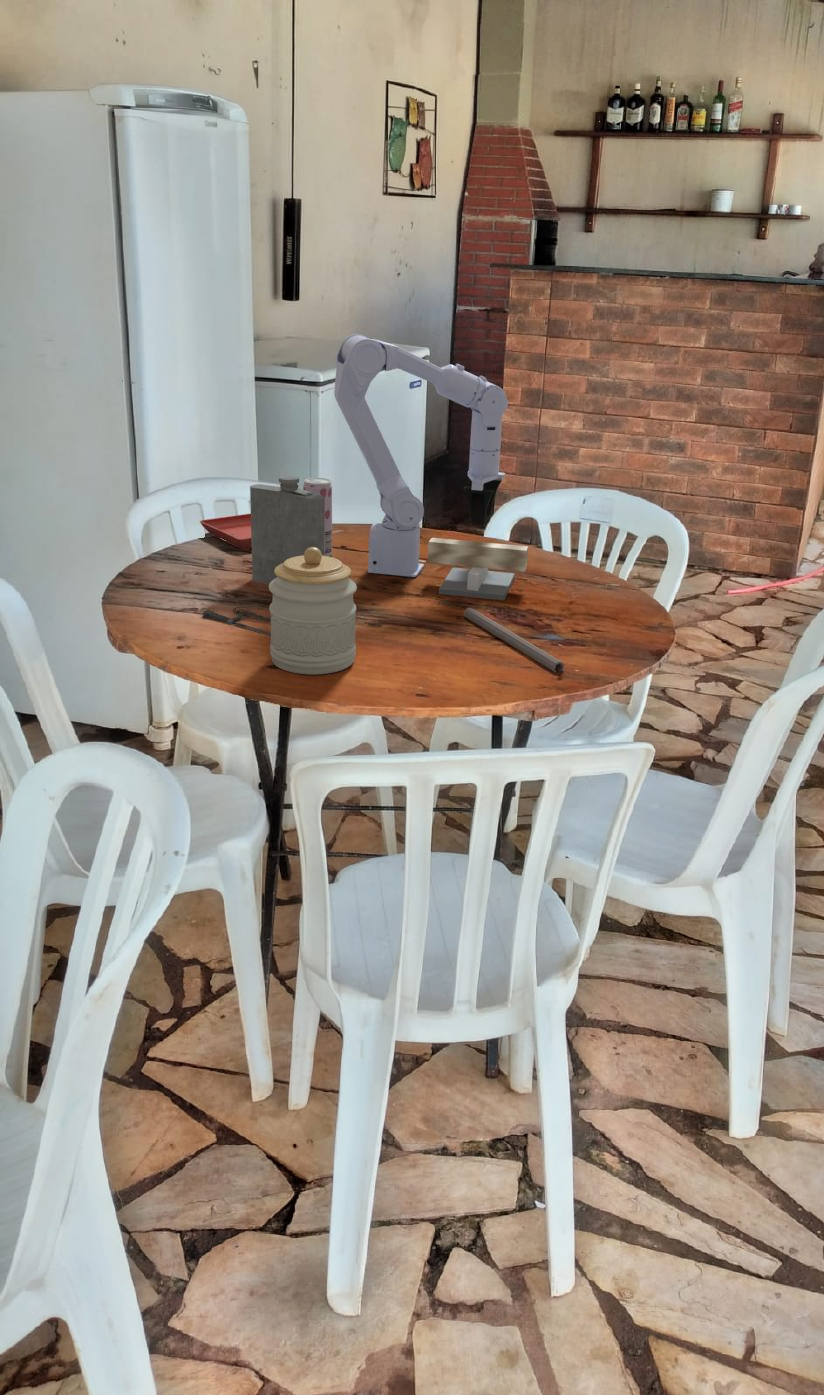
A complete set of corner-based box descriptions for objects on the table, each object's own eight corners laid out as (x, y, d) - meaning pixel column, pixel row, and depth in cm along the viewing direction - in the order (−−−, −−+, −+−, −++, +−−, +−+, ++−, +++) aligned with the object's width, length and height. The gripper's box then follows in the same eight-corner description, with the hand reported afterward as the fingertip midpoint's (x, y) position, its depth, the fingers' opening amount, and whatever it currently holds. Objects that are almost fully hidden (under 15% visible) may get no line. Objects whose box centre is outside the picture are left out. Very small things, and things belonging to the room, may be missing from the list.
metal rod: (473, 617, 188) (474, 606, 187) (563, 672, 166) (564, 660, 165) (463, 619, 187) (464, 608, 186) (553, 674, 165) (554, 662, 164)
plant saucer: (198, 534, 231) (197, 519, 230) (272, 524, 241) (272, 509, 240) (239, 555, 218) (239, 539, 217) (316, 543, 228) (316, 527, 227)
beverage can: (303, 551, 221) (302, 477, 215) (331, 551, 221) (331, 477, 215) (303, 559, 215) (303, 483, 209) (332, 559, 216) (332, 483, 210)
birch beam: (427, 562, 202) (428, 541, 200) (430, 558, 205) (431, 537, 203) (524, 571, 199) (526, 550, 197) (526, 567, 201) (528, 546, 200)
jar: (280, 642, 172) (278, 533, 165) (361, 648, 171) (363, 538, 164) (261, 673, 161) (258, 557, 154) (348, 679, 159) (350, 562, 152)
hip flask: (248, 580, 202) (245, 472, 194) (263, 575, 205) (260, 468, 197) (317, 597, 194) (316, 485, 186) (330, 592, 197) (331, 481, 189)
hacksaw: (197, 619, 183) (197, 611, 182) (238, 598, 190) (238, 591, 190) (312, 655, 171) (312, 647, 171) (351, 632, 179) (350, 624, 178)
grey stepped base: (438, 594, 198) (439, 572, 196) (452, 572, 210) (453, 552, 209) (504, 600, 196) (505, 579, 194) (514, 578, 208) (515, 558, 207)
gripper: (500, 457, 198) (495, 530, 203) (511, 443, 211) (507, 513, 216) (462, 454, 199) (458, 527, 205) (475, 441, 212) (472, 510, 218)
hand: (481, 519), depth 211 cm, fingers open, 7 cm apart
